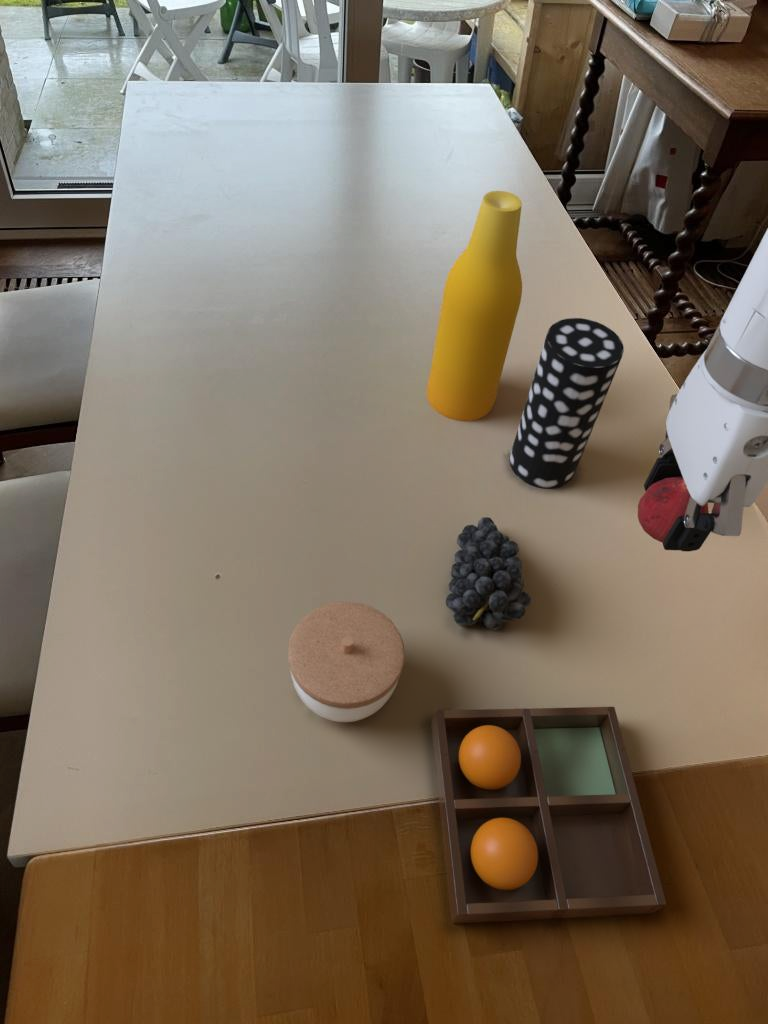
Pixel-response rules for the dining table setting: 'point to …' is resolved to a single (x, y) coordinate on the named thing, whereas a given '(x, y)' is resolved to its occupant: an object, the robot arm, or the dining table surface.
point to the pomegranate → (664, 506)
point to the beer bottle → (478, 314)
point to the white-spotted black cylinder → (564, 401)
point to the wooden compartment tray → (549, 817)
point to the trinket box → (345, 660)
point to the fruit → (486, 578)
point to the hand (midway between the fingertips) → (670, 516)
